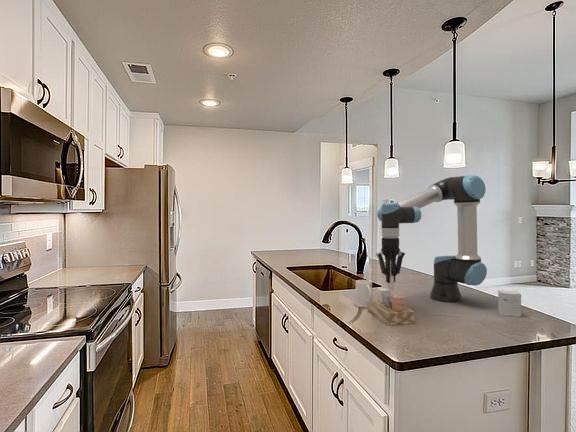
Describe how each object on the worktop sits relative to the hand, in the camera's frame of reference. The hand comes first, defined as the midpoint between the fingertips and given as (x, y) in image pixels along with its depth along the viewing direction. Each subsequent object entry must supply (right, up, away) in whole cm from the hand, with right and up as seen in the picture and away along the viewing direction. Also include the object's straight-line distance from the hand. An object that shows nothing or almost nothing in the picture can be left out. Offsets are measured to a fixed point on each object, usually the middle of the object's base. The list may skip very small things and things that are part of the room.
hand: (390, 289), depth 158 cm
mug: (-8, -12, +18) cm, 23 cm away
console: (0, -12, 0) cm, 12 cm away
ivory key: (-2, -8, +6) cm, 10 cm away
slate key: (0, -9, 0) cm, 9 cm away
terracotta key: (+1, -8, -6) cm, 11 cm away
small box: (+55, -12, +3) cm, 57 cm away
